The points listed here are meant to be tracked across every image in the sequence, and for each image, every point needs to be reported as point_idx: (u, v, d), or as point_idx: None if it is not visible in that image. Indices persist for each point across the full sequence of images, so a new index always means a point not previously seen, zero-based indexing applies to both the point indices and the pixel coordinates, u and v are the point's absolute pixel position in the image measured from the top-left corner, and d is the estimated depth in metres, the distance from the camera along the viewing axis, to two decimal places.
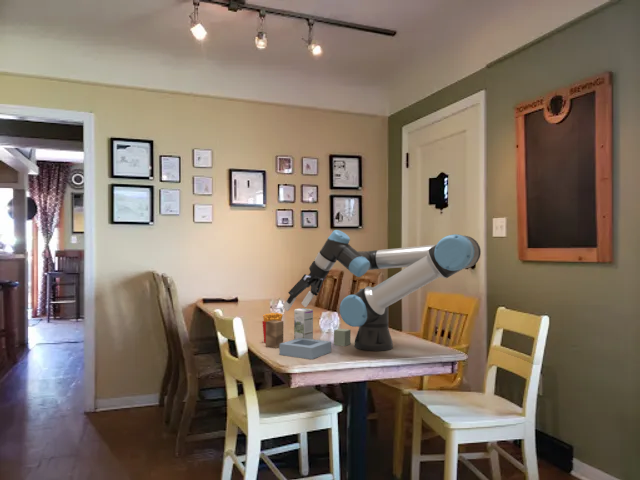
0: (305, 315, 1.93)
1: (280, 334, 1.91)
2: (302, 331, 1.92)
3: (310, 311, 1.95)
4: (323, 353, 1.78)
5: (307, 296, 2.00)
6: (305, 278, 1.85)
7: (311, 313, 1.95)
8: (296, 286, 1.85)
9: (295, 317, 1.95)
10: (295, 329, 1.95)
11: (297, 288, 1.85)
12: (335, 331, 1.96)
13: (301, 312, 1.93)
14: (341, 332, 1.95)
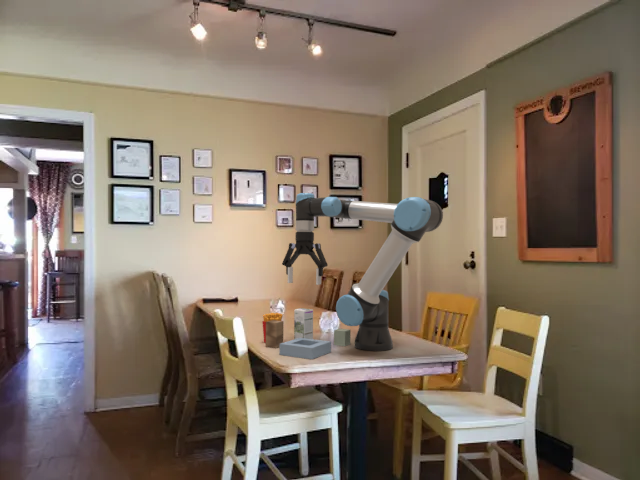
0: (305, 315, 1.93)
1: (280, 334, 1.91)
2: (302, 331, 1.92)
3: (310, 311, 1.95)
4: (323, 353, 1.78)
5: None
6: None
7: (311, 313, 1.95)
8: None
9: (295, 317, 1.95)
10: (295, 329, 1.95)
11: None
12: (335, 331, 1.96)
13: (301, 312, 1.93)
14: (341, 332, 1.95)
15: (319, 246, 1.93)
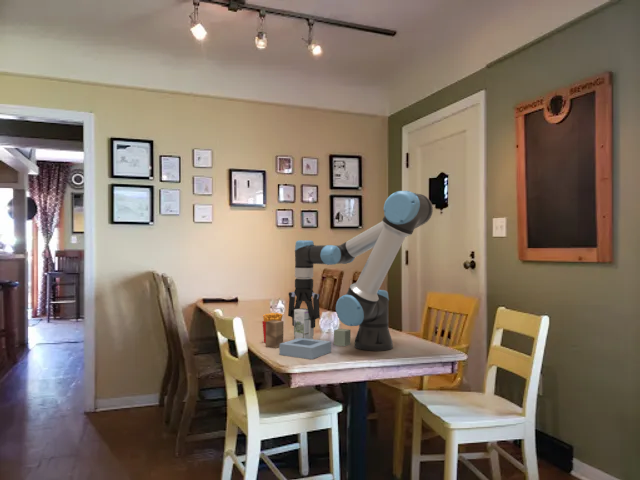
0: (305, 315, 1.93)
1: (280, 334, 1.91)
2: (302, 331, 1.92)
3: None
4: (323, 353, 1.78)
5: None
6: None
7: None
8: None
9: (295, 317, 1.95)
10: (295, 329, 1.95)
11: None
12: (335, 331, 1.96)
13: (301, 312, 1.93)
14: (341, 332, 1.95)
15: (318, 297, 1.93)
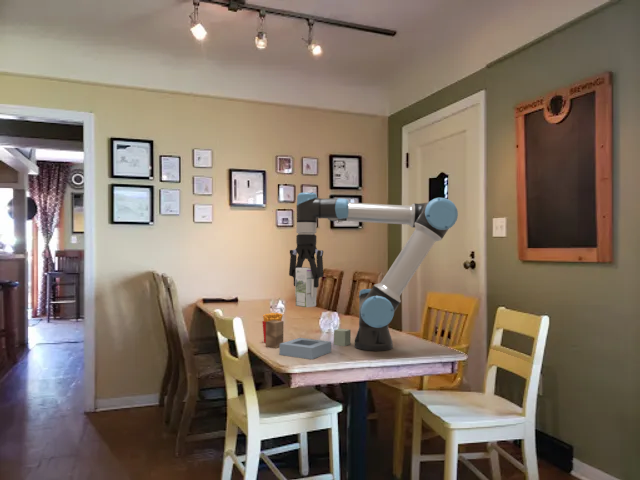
0: (307, 273, 1.77)
1: (280, 334, 1.91)
2: (304, 291, 1.77)
3: None
4: (323, 353, 1.78)
5: None
6: None
7: None
8: None
9: (297, 276, 1.80)
10: (296, 289, 1.80)
11: None
12: (335, 331, 1.96)
13: (303, 270, 1.77)
14: (341, 332, 1.95)
15: (322, 254, 1.78)
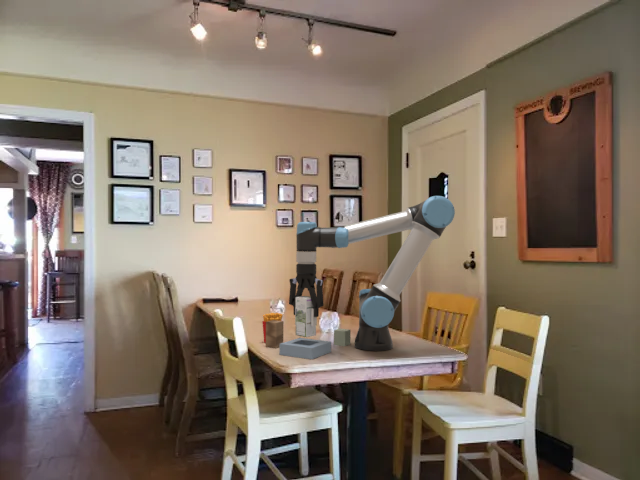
0: (307, 303, 1.77)
1: (280, 334, 1.91)
2: (304, 320, 1.77)
3: None
4: (323, 353, 1.78)
5: None
6: None
7: None
8: None
9: (296, 305, 1.79)
10: (296, 318, 1.80)
11: None
12: (335, 331, 1.96)
13: (303, 300, 1.77)
14: (341, 332, 1.95)
15: (322, 283, 1.78)
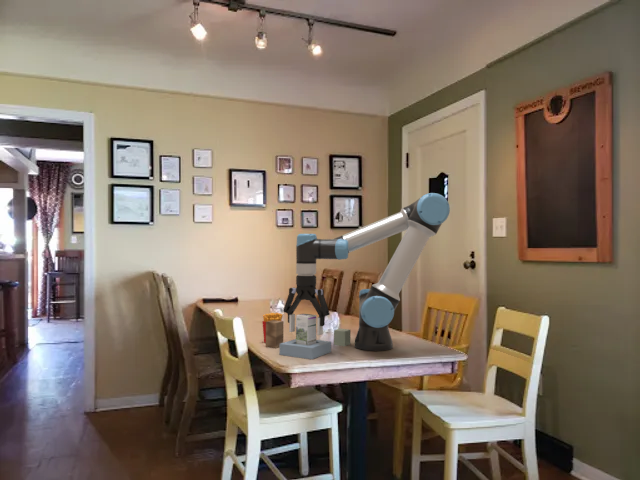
0: (308, 321, 1.77)
1: (280, 334, 1.91)
2: (305, 339, 1.76)
3: (313, 317, 1.79)
4: (323, 353, 1.78)
5: None
6: None
7: (314, 319, 1.80)
8: None
9: (297, 323, 1.79)
10: (297, 336, 1.79)
11: None
12: (335, 331, 1.96)
13: (304, 318, 1.77)
14: (341, 332, 1.95)
15: (322, 292, 1.77)
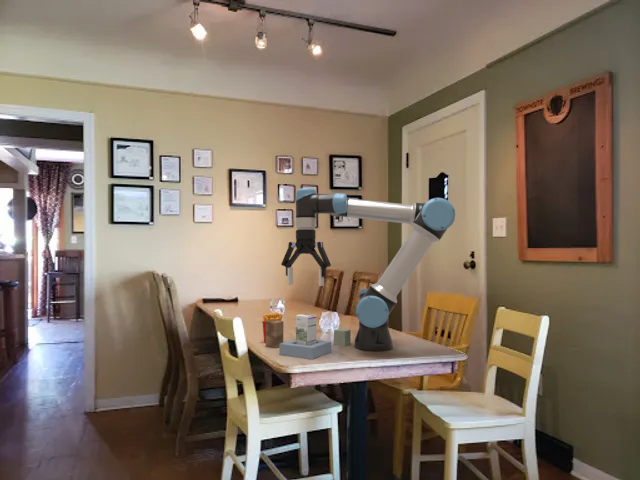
0: (308, 321, 1.77)
1: (280, 334, 1.91)
2: (305, 339, 1.76)
3: (313, 317, 1.79)
4: (323, 353, 1.78)
5: None
6: None
7: (314, 319, 1.80)
8: None
9: (297, 323, 1.79)
10: (297, 336, 1.79)
11: None
12: (335, 331, 1.96)
13: (304, 318, 1.77)
14: (341, 332, 1.95)
15: (322, 244, 1.81)
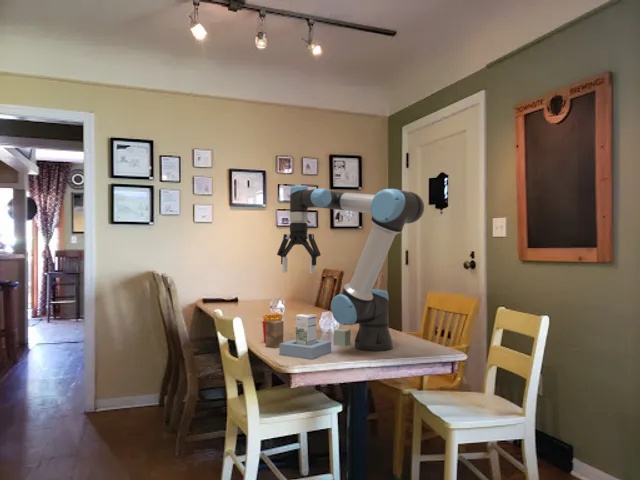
0: (308, 321, 1.77)
1: (280, 334, 1.91)
2: (305, 339, 1.76)
3: (313, 317, 1.79)
4: (323, 353, 1.78)
5: None
6: None
7: (314, 319, 1.80)
8: None
9: (297, 323, 1.79)
10: (297, 336, 1.79)
11: None
12: (335, 331, 1.96)
13: (304, 318, 1.77)
14: (341, 332, 1.95)
15: (313, 236, 2.01)
